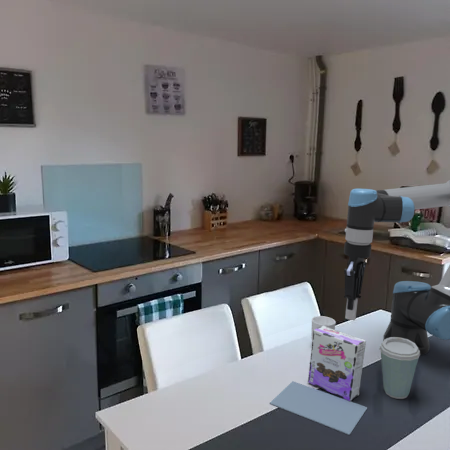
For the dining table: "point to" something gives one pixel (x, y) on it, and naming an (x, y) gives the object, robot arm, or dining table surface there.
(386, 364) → the disposable coffee cup
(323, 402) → the mat
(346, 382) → the candy box
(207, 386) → the dining table surface
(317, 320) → the white cup
